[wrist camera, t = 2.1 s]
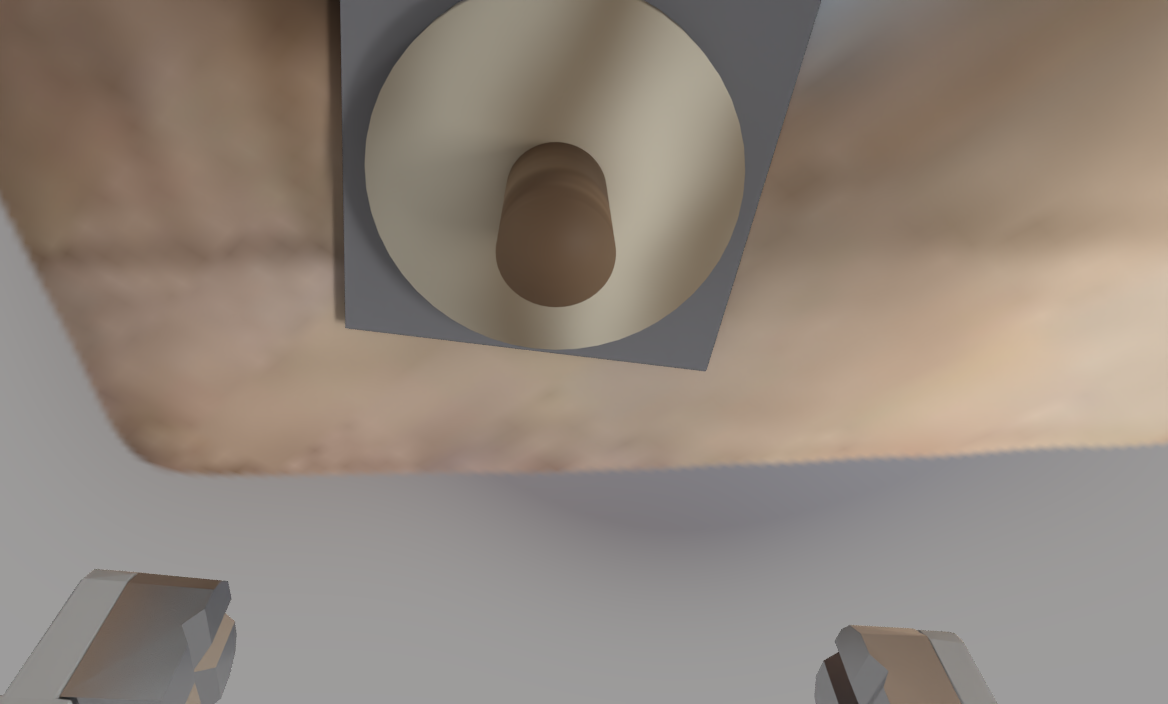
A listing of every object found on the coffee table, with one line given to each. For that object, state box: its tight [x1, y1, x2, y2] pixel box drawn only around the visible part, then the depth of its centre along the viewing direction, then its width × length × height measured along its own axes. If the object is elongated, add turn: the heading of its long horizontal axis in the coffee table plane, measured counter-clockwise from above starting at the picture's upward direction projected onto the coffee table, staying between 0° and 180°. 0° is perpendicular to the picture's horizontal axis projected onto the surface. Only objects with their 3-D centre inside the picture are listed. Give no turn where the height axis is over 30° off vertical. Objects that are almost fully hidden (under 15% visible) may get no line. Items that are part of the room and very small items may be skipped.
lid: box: [365, 0, 745, 350], centre depth 22 cm, size 12×12×6 cm
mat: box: [340, 0, 821, 371], centre depth 25 cm, size 14×14×1 cm
